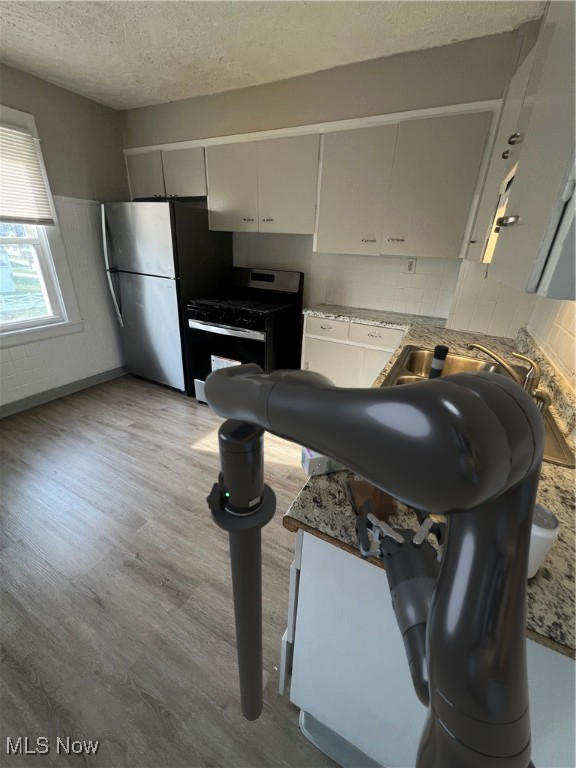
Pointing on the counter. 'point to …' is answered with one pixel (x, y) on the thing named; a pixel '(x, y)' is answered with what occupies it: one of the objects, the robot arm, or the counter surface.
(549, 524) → the can
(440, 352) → the wine bottle
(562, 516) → the counter surface
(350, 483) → the brown wooden holder
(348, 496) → the counter surface
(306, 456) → the syrup box
